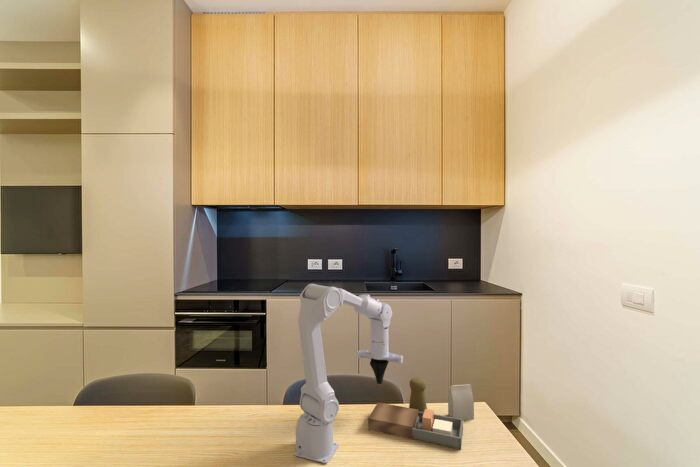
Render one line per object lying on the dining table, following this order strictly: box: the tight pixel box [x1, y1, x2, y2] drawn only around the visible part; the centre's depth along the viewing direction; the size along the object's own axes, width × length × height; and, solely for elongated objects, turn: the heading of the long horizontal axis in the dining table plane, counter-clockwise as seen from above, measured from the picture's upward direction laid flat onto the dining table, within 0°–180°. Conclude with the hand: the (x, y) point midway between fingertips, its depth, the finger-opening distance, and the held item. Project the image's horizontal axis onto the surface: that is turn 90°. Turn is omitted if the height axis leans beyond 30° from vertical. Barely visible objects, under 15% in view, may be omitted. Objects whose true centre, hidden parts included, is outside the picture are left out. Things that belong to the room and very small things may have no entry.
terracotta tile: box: [422, 408, 435, 432], centre depth 99 cm, size 5×5×2 cm
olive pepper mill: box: [408, 376, 428, 412], centre depth 109 cm, size 6×6×11 cm
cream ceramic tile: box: [433, 419, 453, 436], centre depth 97 cm, size 5×5×2 cm
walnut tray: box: [367, 402, 419, 440], centre depth 103 cm, size 13×10×4 cm
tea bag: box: [447, 383, 475, 421], centre depth 107 cm, size 4×7×10 cm, turn 98°
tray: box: [411, 411, 464, 451], centre depth 98 cm, size 13×10×3 cm
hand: (379, 382), depth 108 cm, fingers closed
